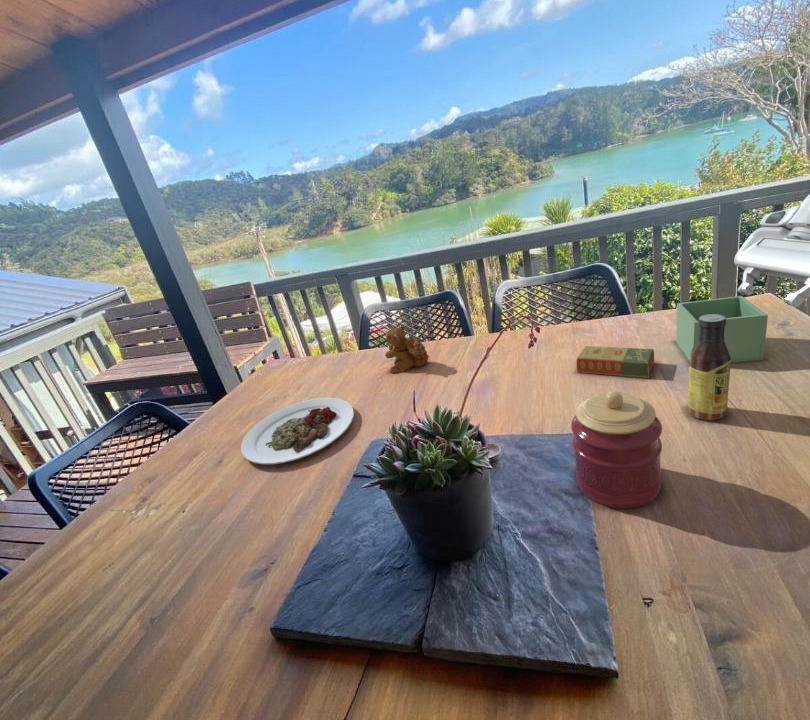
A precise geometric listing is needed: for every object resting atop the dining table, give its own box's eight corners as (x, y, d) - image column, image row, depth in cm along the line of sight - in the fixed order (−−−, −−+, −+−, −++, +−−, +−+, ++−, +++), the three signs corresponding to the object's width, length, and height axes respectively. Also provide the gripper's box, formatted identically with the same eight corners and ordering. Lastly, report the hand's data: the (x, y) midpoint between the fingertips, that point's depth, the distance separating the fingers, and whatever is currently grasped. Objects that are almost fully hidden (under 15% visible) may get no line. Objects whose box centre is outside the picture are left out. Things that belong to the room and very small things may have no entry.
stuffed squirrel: (399, 359, 145) (389, 322, 140) (437, 358, 138) (429, 320, 133) (384, 373, 137) (374, 335, 132) (424, 373, 130) (415, 333, 125)
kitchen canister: (678, 481, 71) (681, 387, 64) (630, 524, 65) (627, 426, 59) (606, 450, 82) (602, 366, 75) (560, 484, 76) (550, 397, 69)
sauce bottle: (720, 426, 81) (726, 326, 73) (682, 417, 85) (684, 323, 78) (731, 409, 84) (739, 313, 76) (694, 401, 89) (698, 310, 81)
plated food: (218, 465, 108) (213, 455, 107) (288, 403, 133) (284, 393, 132) (317, 473, 96) (312, 461, 95) (373, 402, 121) (370, 392, 119)
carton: (586, 359, 116) (585, 344, 114) (654, 363, 106) (654, 347, 104) (577, 373, 110) (575, 358, 108) (649, 379, 100) (648, 362, 99)
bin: (738, 336, 108) (741, 295, 104) (763, 360, 97) (768, 315, 93) (676, 342, 113) (676, 303, 109) (692, 365, 101) (694, 322, 97)
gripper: (905, 240, 64) (837, 321, 68) (779, 230, 83) (731, 294, 87) (879, 219, 63) (811, 304, 66) (756, 214, 82) (709, 280, 85)
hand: (765, 298), depth 77 cm, fingers open, 8 cm apart
